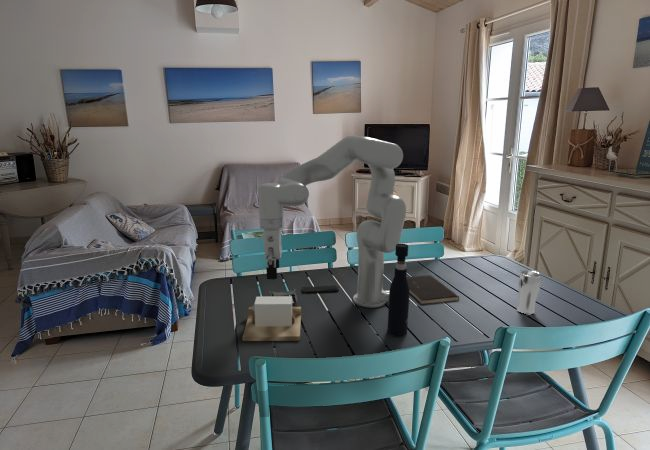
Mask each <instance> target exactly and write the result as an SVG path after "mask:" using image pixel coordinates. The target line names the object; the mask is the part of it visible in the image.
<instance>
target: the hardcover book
mask: <svg viewBox="0 0 650 450" xmlns="http://www.w3.org/2000/svg"><path fill="white" fill-rule="evenodd" d="M406 278H407V281H408V285H409V292H410V295H412V297H414V298H415V299H416V300H417V301H418V302H419V303H420V304H421V305H422V304H423V305H424V304H435V303H443V302H452V301H453V302H455V301H460V296H459V295H457V294H456V293H455V292H454V291H452V290H451V289H450V288H448V287H447V286H445V285H444V284H443V283H442V282H440V281H439V280H438V279H437V278H435V277H434V276H432V275H431V274H428V275H418V276H417V275H414V276H406ZM454 300H455V301H454Z"/></svg>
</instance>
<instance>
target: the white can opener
mask: <svg viewBox="0 0 650 450" xmlns="http://www.w3.org/2000/svg"><path fill="white" fill-rule="evenodd" d="M541 280H542V273H540V272H538V271H535V270H528V269H525V270H521V271H520V276H519V280H518V305H517V307H516V312H517V311H519V312H521V313H524V314H532V313H534V312H535V313H536V311H535V309H536V307H535V305H536V302H537V298H538V296H539V293H540V289H541Z"/></svg>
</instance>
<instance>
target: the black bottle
mask: <svg viewBox="0 0 650 450" xmlns="http://www.w3.org/2000/svg"><path fill="white" fill-rule="evenodd" d="M408 254H409V245H408V244H406V243H399V244H396V249H395V256H396V258H397V259H396V262H395V267H394V274H393V275H394V276H393V278H392V280H391V283H390V287H389V290H388V291H389V298H388V312H387V313H388V314H387V334H389V335H390V336H392V337H396V338H397V337H399V338H400V337H404V336H406V335H408V324H409V307H410V295H411V293H410V292H409V285H408V281H407V278H406V277H407V271H408V269H407V263H406V258H407V257H408V256H409V255H408Z"/></svg>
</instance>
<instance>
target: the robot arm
mask: <svg viewBox="0 0 650 450" xmlns="http://www.w3.org/2000/svg"><path fill="white" fill-rule="evenodd" d="M403 159H404V153H403V149H402V148H401V147H400V146H399V144H397V143H392V142H390V141H389V142H388V141H385V140H380V139H377V138H373V137H369V136H361V135H348V136H346V137H344V138H342V139H340V140H339V141H338V142H337V143H335V144H333V145H332V146H331V147H330V148H328V149H327V150H326V151H324V152H323V153H322V154H320V155H318V156H317V157H316V158H313V159H310V160H308V161H306V162H303V163H302V164H300V165H298V166H295V167H294V168H292V169H291V170H289V171H287V172H286V173H285V174H283V175H282V176H281V177H280V178H279V179H278V180H277V181H276V182H265V183H261V184H260V185H258V188H257V195H258V196H257V197H258V216H259V217H258V218H259V219H258V221H259V222H258V223H259V229H261V230H263V251H264V259H265V261H266V269H265V270H266V280H277V279H278V269H279V268H280V260H281V257H282V254H283V245H282V229H283V228H284V207H289V206H290V207H291V206H292V207H299V206H302V205H303V204H305V203H307V201H308V200H309V197H310V192H309V189H308V187H307V185H309V184H313V183H316V182H317V183H318V182H323V181H328V180H331V179H332V180H333V178H336V177H337V176H338V175H339V174H340V173H342V172H343V171H344V170H345V169H346V168H349V167H350V166H352V164H353V163H361V164H366V165H367V166H368V168H369V169H370V174H371V175H370V176H371V178H370V179H371V181H370V186H369V192H368V196H367V200H366V204H365V205H366V206H365V210H366V212H367V214H368V215H370V216H371V217H373V218H376V219H378V220H381V222H379V221H376V220H373V219H367V220H364V221H362V222H361V223H359V225H358V226H357V229H356V242H357V248H358V249H357V250H358V262H357V263H358V264H357V267H358V268H357V289H356V290H357V293H355V294H354V295H353V298H352V300H353V303H354V304H355V305H357V306H360V307H363V308H368V309H369V308H370V309H371V308H372V309H373V308H374V309H375V308H380V307H382V306H384V305H385V304H386V303H387V298H388V299H389V290H384V285H383V284H384V266H385V264H384V263H385V255H384V254H390V253H391V254H392V252H394V251H396V244H400V242H401V238H402V234H403V233H402V232H403V229H404V225H405V220H406V216H407V215H406V214H407V207H406V206H407V205H406V202H405V200H403V198H401V197H400V196H398V195H396V194H395V195H394V190H395V183H396V174H395V170H394V169H396V168H398V167H399V166H400V165H401V163H402V161H403Z"/></svg>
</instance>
